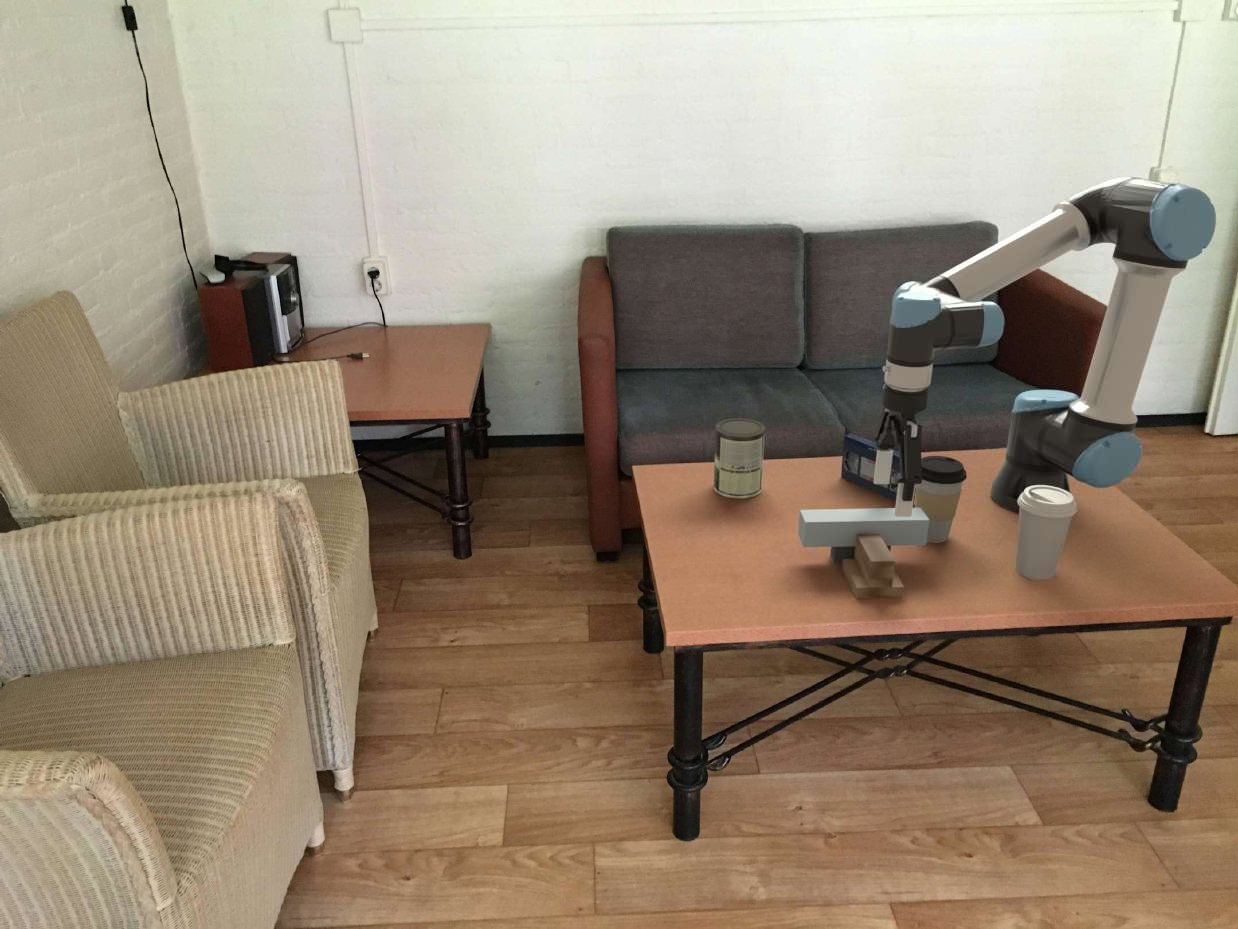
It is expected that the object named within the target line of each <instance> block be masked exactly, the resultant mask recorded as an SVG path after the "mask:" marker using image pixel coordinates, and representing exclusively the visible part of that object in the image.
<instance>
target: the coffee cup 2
mask: <svg viewBox="0 0 1238 929" xmlns="http://www.w3.org/2000/svg"><path fill="white" fill-rule="evenodd" d="M1017 503H1018V505H1019V506H1020V509H1019V512H1018V526H1017V527H1018V528H1017V541H1016V555H1015V556H1016V557H1015V571H1016V572H1017V573H1018V574H1019V575H1021V576H1023V577H1026V578H1028V579H1031V580H1035V581H1037V580H1039V581H1046V580H1050V579H1053V578H1054V577H1055V574H1056V570H1057V567H1058V564H1059V561H1060V558H1061V554H1062V551H1063V548H1064V544H1065V542H1066V541H1065V540H1066V538H1067V535H1068V531H1069V528H1070V524H1071V521H1072V518H1073V516H1074V515H1075V514H1077V512H1078V508H1077V503H1076V501H1075V497H1074V495H1073V494H1072V493H1069V492H1068V491H1066V490H1063V489H1061V488H1058V487H1053V486H1047V485H1034V486H1030V487H1027V488H1026V489H1025V490H1024V492H1023V493H1022V494H1021V495H1020V496H1019V498H1018V500H1017Z"/></svg>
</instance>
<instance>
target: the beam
mask: <svg viewBox="0 0 1238 929" xmlns="http://www.w3.org/2000/svg"><path fill="white" fill-rule="evenodd" d="M894 514H895V507H887V508H886V507H881V508H879V507H878V508H877V507H876V508H873V507H871V508H837V509H836V508H835V509H834V508H833V509H832V508H831V509H830V508H826V509H818V508H817V509H799V518H798V529H797V530H798V532H797V535H798V538H799V539H800V542H801V545H802V547H803V548H831V547H847V546H856V535H857V534H880V536H881V538H882V539H883V541H884V543H885V544H886V546H891V547H893V546H927V543H928V542H927V534H928V527H929V519H928V517H927V516H926V514H925V513H924V512H923V510H922V509H921V508H915V507H913V508H912V515H911V517H895V515H894Z"/></svg>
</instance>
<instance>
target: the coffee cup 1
mask: <svg viewBox="0 0 1238 929" xmlns="http://www.w3.org/2000/svg"><path fill="white" fill-rule="evenodd" d="M921 465H922V483H921V484H916V492H915V501H914V504H915V507H914V508H921V509H922V510H923V512H924V513H925V514H926V516H927V517H928V519H929V527H928V534H927V542H926V543H931V544H939V543H940V544H941V543H943V542H945V541H947V540H948V539H949V536H950V532H951V528H952V524H953V520H954V518H955V517H956V513H957V512H956V511H957V510H958V504H959V501H960V498H961V494H962V486H963V482H964V481H965V480H967V477H968V476H967V471H966V469H965V468H964V464H963V463H962V462H961V461H960V460H958V459H955V458H953V457H949V456H945V455H929V456H927V455H926V456H923V457H921Z"/></svg>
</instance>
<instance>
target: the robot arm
mask: <svg viewBox="0 0 1238 929" xmlns="http://www.w3.org/2000/svg"><path fill="white" fill-rule="evenodd" d="M1216 225H1217V214H1216V209H1215V205H1214V204H1213V203H1212V201H1211V198H1210V197H1209V196H1208V194H1206V193H1205V192H1204V191H1202V190H1201V189H1199V188H1196V187H1192V186H1189V185H1186V184H1182V183H1178V182H1177V183H1173V182H1164V181H1158V180H1153V179H1146V178H1141V177H1135V176H1134V177H1133V176H1125V177H1118V178H1112V179H1109V180H1105V181H1103V182H1100V183H1098V184H1095V185H1093V186H1091V187H1089V188H1086V189H1084V190H1082V191H1080V192H1077V193H1076V194H1073V195H1071V196H1070V197H1068V198H1066V199H1064V200H1062V201H1061V202H1059V203H1057V204H1055V206H1053V208H1052V210H1051V213H1050V214H1048V215H1046V216H1045V217H1043V218H1042V219H1040V220H1037V221H1036V222H1034V223H1032V224H1030V225H1028V226H1027V227H1024V228H1023V229H1021V230H1019V231H1017V232H1015V233H1014V234H1012V235H1011V236H1008V237H1007V238H1004V239H1003V240H1002V241H999V242H997V243H996V244H994V245H992V246H990V247H988V248H986V249H984V250H983V251H981V252H979V253H978V254H976V255H974V256H972V257H970V258H968V259H967V260H965V261H963V262H961V263H959V264H957V265H956V266H954V267H952V268H950V269H949V270H947V271H944V272H942V273H941V274H939V275H937V276H936V277H933V278H932V279H929V280H928V281H925V282H924V283H923V282H921V281H914V280H913V281H908V282H904V283H903V284H902V285H900V286H899V287H898V288H897V289H896V291H895V293H894V294H893V298H892V301H891V306H892V307H891V308H892V309H891V315H890V318H889V325H890V326H889V334H888V342H887V351H886V361H885V363H886V364H885V366H882V371H883V372H884V377H883V378H884V379H883V380H884V384H883V386H882V392H881V400H880V403H881V405H882V407H883V408H882V412H881V416H880V418H879V422H878V425H877V428H876V430H875V434H874V438H873V439H874V441H875V442H876V443H877V448H879V450H877V457H876V465H875V473H874V482H873V483H874V484H889V481H890V473H891V465H892V457H893V450H894V449H895V448H896V446H897V449H898V450H897V451H898V452H899V461H900V471H901V479H898V480H897V483H898V491H897V498H896V502H895V506H894V508H895V514H894V515H895V517H911V515H912V508H914V507H913V505H914V504H913V501H914V493H915V494H916V492H915V486H916V484H921V483H922V465H921V459H922V433H923V432H922V429H923V426H922V424H917V420H916V414H918V413H921V412H924V411H925V410H926V409H927V406H928V399H929V392H930V390H929V388H928V387H929V386H930V385H931V381H932V374H933V367H934V366H933V365H934V358H935V352H936V351H939V350H940V351H942V350H954V349H968V348H969V349H970V348H975V349H978V348H980V347H987V346H991V345H994V344H995V343H997V342H998V341H999V340H1000V339H1001V337H1002V335H1003V333H1004V328H1005V317H1004V313H1003V310H1002V308H1001V307H1000V306H999V305H998V303H995V302H993V301H989V300H988V301H983V299H984V298H986V297H988V296H990V295H992V294H994V293H995V292H998V291H999V290H1001V289H1003V288H1005V287H1007V286H1008V285H1011V284H1012V283H1014V282H1016V281H1017V280H1019V279H1021V278H1023V277H1024V276H1027V275H1028V274H1030V273H1032V272H1034V271H1036V270H1038V269H1039V268H1041V267H1043V266H1045V265H1046V264H1048V263H1051V262H1052V261H1054V260H1056V259H1058V258H1059V257H1061V256H1064V255H1065V254H1067V253H1068V252H1070V251H1074V252H1081V251H1084V250H1085V249H1087V248H1089V247H1092V246H1093V245H1098V244H1113V245H1114V246H1115V247H1114V250H1113V253H1112V258H1111V259H1112V260H1113V262H1114V263H1115V265H1116V266H1117V269H1118V270H1117V273H1116V277H1115V280H1114V283H1113V287H1112V291H1111V293H1110V297H1109V301H1108V304H1107V308H1106V311H1105V314H1104V317H1103V321H1102V324H1101V328H1100V332H1099V335H1098V338H1097V342H1096V345H1095V348H1094V351H1093V352H1094V353H1093V354H1092V359H1091V362H1090V366H1089V368H1088V372H1087V375H1086V380H1085V382H1084V386H1083V389H1082V393H1081V396H1078V395H1077V394H1075V393H1073V392H1069V391H1066V390H1065V391H1064V390H1058V389H1034V390H1027V391H1024V392H1023V391H1022V392H1021V393H1019V394H1018V395H1017V396H1016V398H1015V400H1014V404H1013V408H1012V410H1011V418H1010V423H1009V424H1010V425H1009V431H1008V439H1007V445H1006V450H1005V451H1006V453H1005V458H1004V461H1003V463H1002V465H1001V467H1000V469H999V470H998V472H997V474H996V476H995V477H994V480H992V484H991V488H990V497H991V499H992V500H993V502H994V503H996V504H997V505H998V506H1001V507H1003V508H1004V509H1008V510H1010V511H1013V512H1016V513H1019V509H1020V506H1019V505H1018V503H1017V500H1018V498H1019V496H1020V495H1021V494H1022V493H1023V492H1024V490H1025V489H1026V488H1027V487H1030V486H1034V485H1047V486H1053V487H1058V488H1061V489H1063V490H1066V491H1068V492H1069V493H1071V488H1070V483H1069V482H1070V481H1069V476H1071V477H1072V478H1074V479H1075V480H1076V481H1077V482H1080V483H1083V484H1086V485H1088V486H1090V487H1093V488H1096V489H1097V488H1098V489H1105V488H1111V487H1115V486H1117V485H1119V484H1120V483H1121V482H1122V481H1124V479H1127V478H1128V477H1129V476H1131V475H1132V474H1133V472H1134V471H1135V470H1136V468H1137V467H1138V465H1139V464H1140V461H1141V460H1142V456H1143V453H1144V452H1143V450H1144V449H1143V444H1141V443H1142V441H1141V439H1140V438H1139V437H1138V436H1137V435H1136V434H1135V429H1136V426H1137V423H1138V417H1137V415H1136V414H1135V412H1134V411H1133V404H1134V401H1135V397H1136V394H1137V393H1138V392H1137V391H1138V389H1139V386H1140V382H1141V379H1142V376H1143V374H1144V373H1143V372H1144V370H1145V366H1146V363H1147V360H1148V357H1149V353H1150V350H1151V347H1152V344H1153V340H1154V337H1155V334H1156V331H1157V327H1158V324H1159V321H1160V319H1161V315H1162V312H1163V309H1164V305H1165V302H1166V299H1167V296H1168V293H1169V289H1170V287H1171V283H1172V281H1173V279H1174V277H1175V276H1177V275H1179V274H1180V273H1182V272H1184V271H1185V270H1186V269H1187V265H1188V262H1189V260H1192V259H1195V258H1197V257H1199V256H1200V255H1201V254H1202V253H1203V249H1206V248H1207V247H1208V246H1209V245H1210V243H1211V241H1212V240H1213V237H1214V235H1215V234H1214V233H1215V232H1216ZM889 448H890V449H893V450H889ZM1068 475H1069V476H1068ZM1071 494H1072V493H1071ZM914 502H915V501H914Z"/></svg>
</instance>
